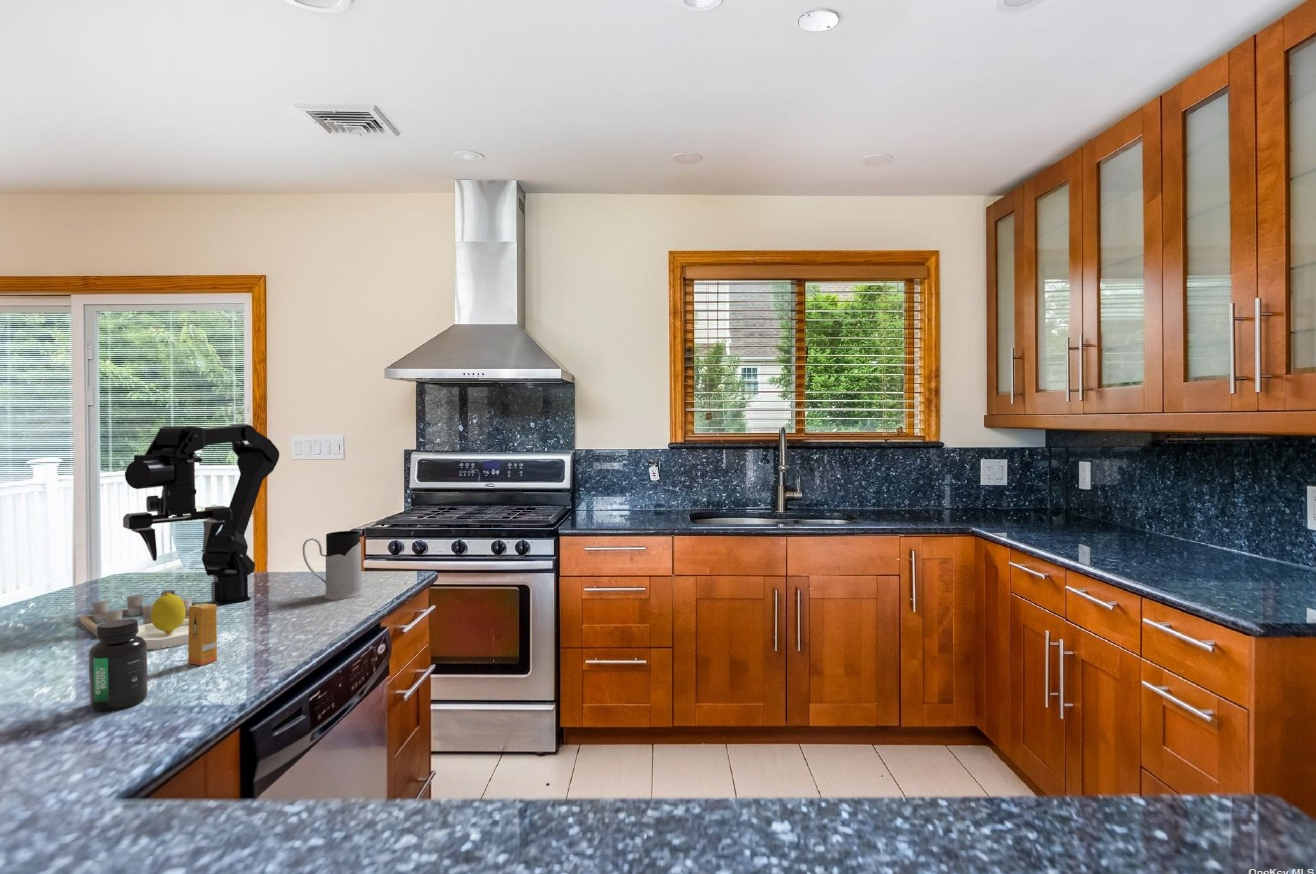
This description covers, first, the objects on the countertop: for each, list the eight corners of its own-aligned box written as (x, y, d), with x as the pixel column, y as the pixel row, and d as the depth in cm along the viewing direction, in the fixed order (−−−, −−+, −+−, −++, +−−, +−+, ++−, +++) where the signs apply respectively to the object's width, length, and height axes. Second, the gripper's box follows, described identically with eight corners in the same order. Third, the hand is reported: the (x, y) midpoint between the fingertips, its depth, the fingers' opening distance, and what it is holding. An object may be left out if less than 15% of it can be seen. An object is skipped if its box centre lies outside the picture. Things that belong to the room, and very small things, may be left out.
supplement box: (219, 660, 123) (218, 603, 123) (201, 666, 120) (199, 608, 120) (205, 658, 124) (204, 601, 124) (186, 664, 121) (185, 606, 121)
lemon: (192, 630, 139) (192, 589, 138) (170, 638, 133) (169, 596, 133) (167, 629, 139) (166, 589, 139) (143, 637, 134) (143, 596, 134)
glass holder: (353, 599, 165) (352, 536, 165) (294, 599, 165) (293, 536, 165) (369, 590, 174) (368, 530, 174) (312, 590, 174) (311, 530, 174)
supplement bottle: (101, 716, 100) (99, 632, 99) (81, 706, 103) (79, 625, 103) (156, 700, 106) (154, 620, 105) (135, 691, 109) (133, 614, 109)
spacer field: (180, 604, 161) (179, 587, 161) (205, 618, 149) (204, 600, 149) (80, 621, 148) (79, 602, 148) (98, 638, 136) (98, 618, 136)
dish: (198, 623, 146) (198, 614, 146) (221, 636, 137) (221, 627, 137) (115, 639, 135) (115, 630, 135) (133, 654, 126) (133, 645, 126)
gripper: (216, 479, 162) (217, 547, 163) (115, 485, 148) (117, 559, 149) (232, 482, 155) (234, 552, 155) (129, 488, 141) (130, 566, 141)
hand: (180, 557), depth 150 cm, fingers open, 9 cm apart
